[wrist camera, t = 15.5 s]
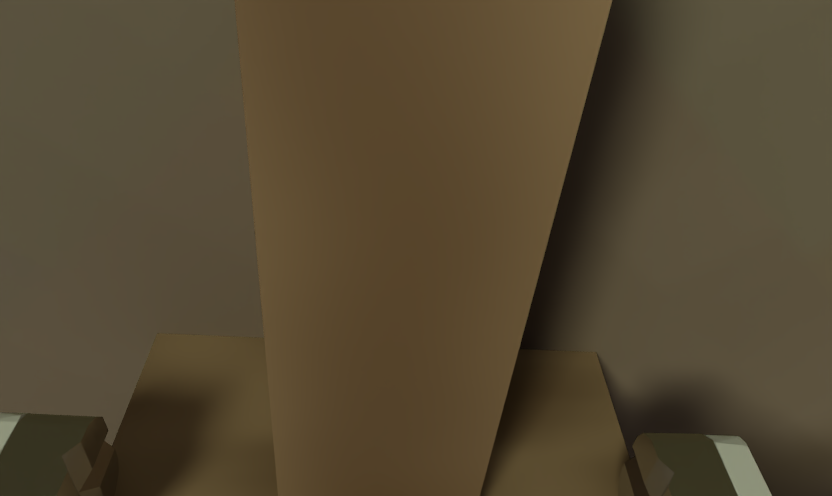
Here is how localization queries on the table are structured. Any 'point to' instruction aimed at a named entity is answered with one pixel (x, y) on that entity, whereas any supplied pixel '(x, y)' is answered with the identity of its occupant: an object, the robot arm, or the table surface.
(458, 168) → the wooden post on base
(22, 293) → the table surface
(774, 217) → the table surface
